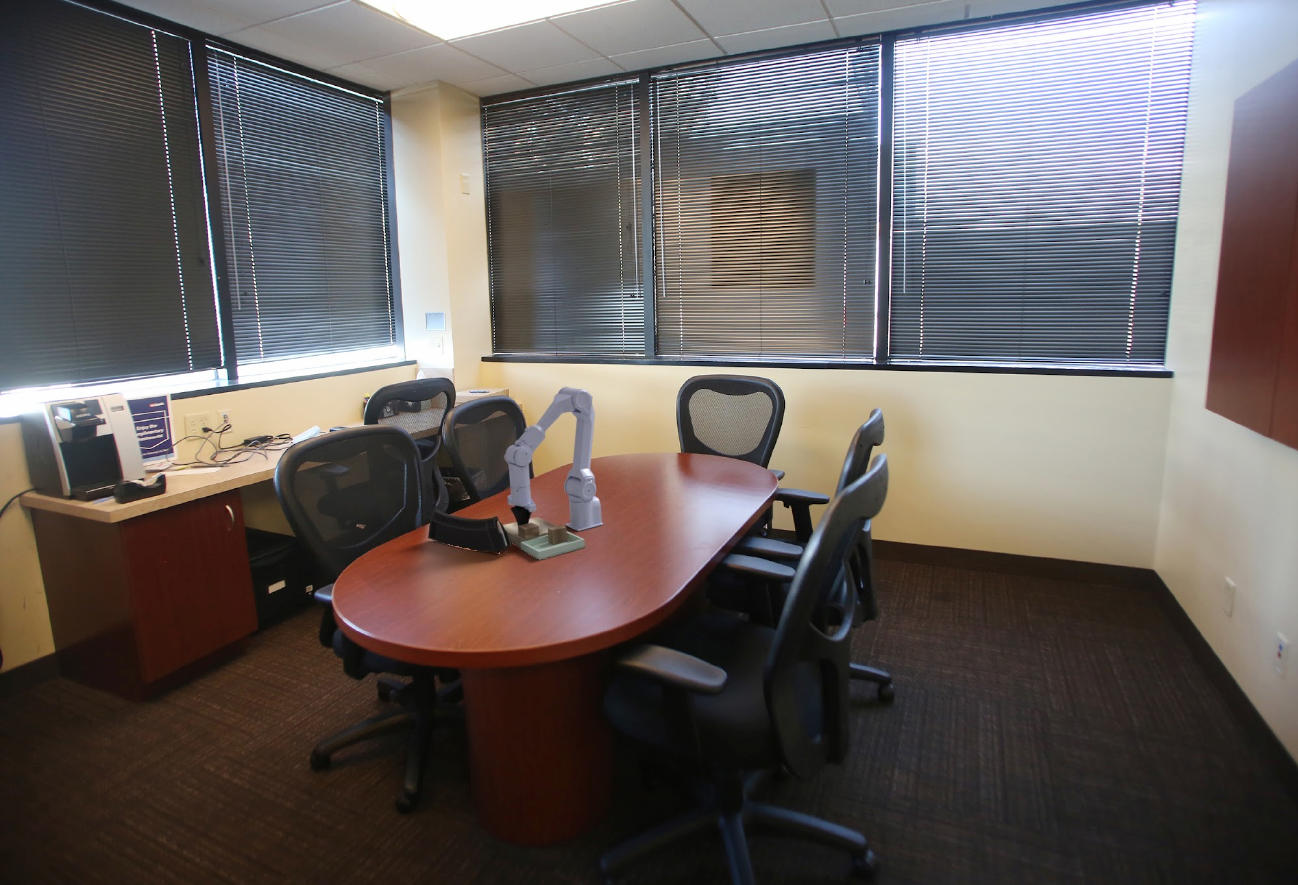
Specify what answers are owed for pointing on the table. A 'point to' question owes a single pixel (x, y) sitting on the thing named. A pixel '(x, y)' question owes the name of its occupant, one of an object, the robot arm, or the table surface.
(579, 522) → the robot arm
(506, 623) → the table surface
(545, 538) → the box
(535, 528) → the walnut block
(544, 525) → the maple board
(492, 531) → the magazine
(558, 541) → the walnut block
